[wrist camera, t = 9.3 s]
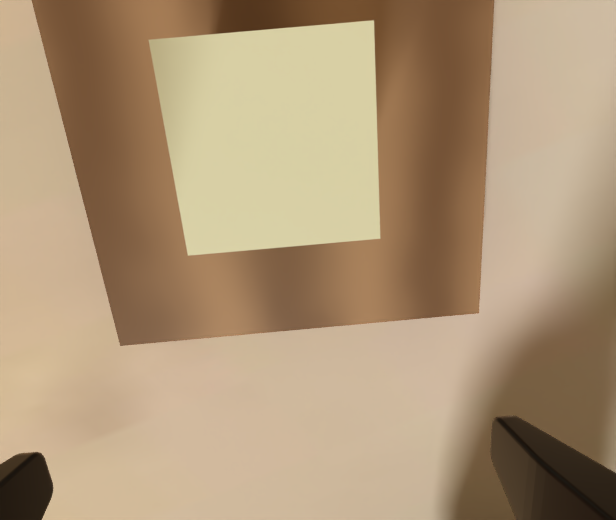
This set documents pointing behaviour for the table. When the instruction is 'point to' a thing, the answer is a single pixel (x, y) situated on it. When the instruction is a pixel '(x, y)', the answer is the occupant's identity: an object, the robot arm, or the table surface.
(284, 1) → the walnut base
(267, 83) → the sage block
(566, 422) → the table surface
